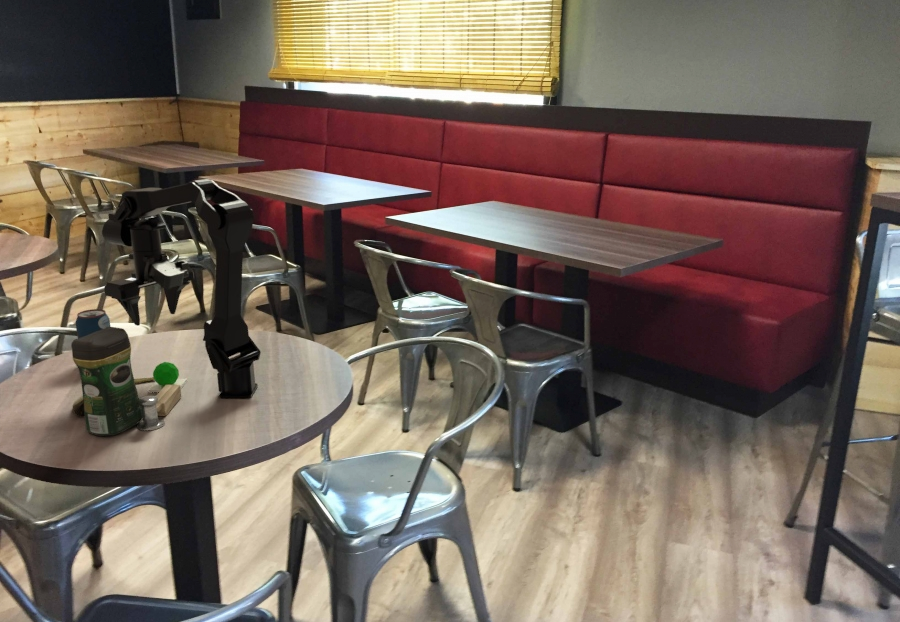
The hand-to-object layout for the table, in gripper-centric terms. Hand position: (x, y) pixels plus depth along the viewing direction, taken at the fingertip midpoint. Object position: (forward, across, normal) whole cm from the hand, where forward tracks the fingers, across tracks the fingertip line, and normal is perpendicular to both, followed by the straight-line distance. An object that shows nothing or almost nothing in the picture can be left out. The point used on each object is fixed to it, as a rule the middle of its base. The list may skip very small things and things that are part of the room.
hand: (155, 319), depth 160 cm
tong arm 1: (+12, -14, -16) cm, 24 cm away
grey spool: (+12, -19, -20) cm, 30 cm away
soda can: (+12, -4, +16) cm, 21 cm away
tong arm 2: (+12, -13, -17) cm, 25 cm away
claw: (+13, -15, -3) cm, 20 cm away
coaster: (+12, -5, -8) cm, 16 cm away
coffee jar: (+12, -23, -15) cm, 30 cm away
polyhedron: (+12, -6, -9) cm, 15 cm away
